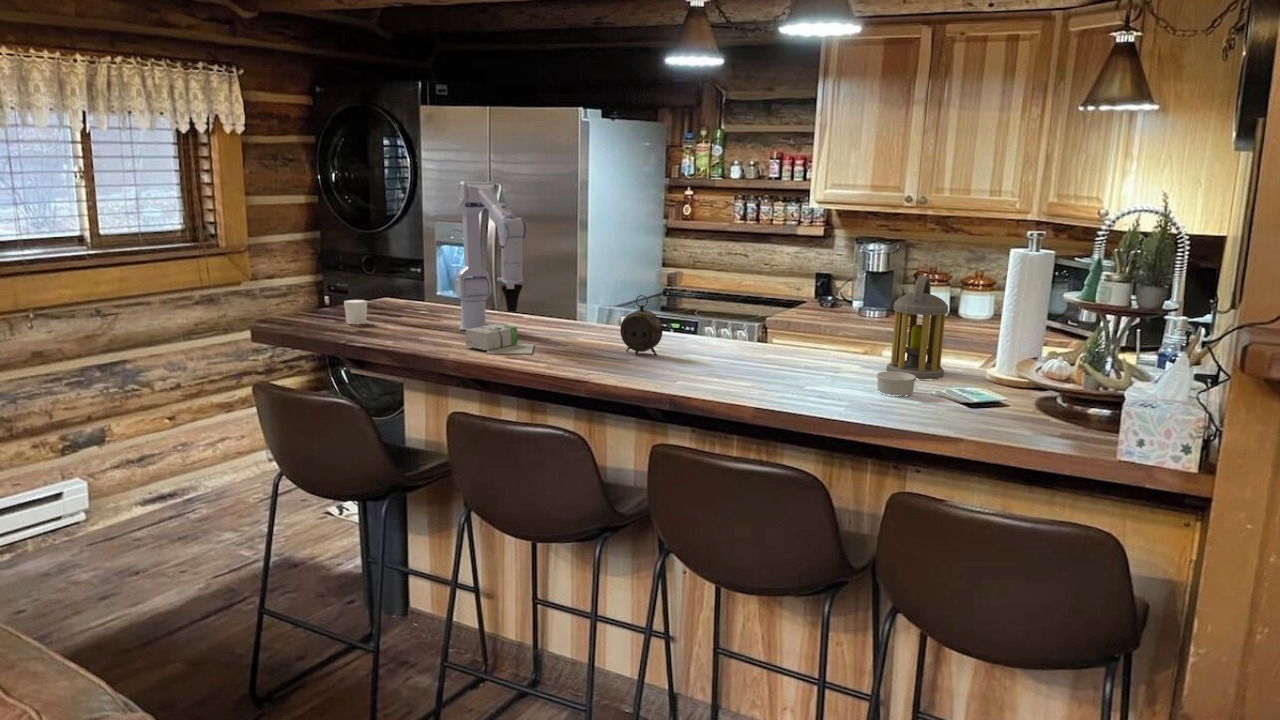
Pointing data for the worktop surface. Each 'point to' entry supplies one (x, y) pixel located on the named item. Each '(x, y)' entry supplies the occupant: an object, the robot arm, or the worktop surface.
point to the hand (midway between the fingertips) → (512, 311)
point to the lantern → (918, 333)
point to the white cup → (355, 311)
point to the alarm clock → (641, 330)
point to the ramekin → (896, 383)
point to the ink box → (491, 336)
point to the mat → (513, 349)
